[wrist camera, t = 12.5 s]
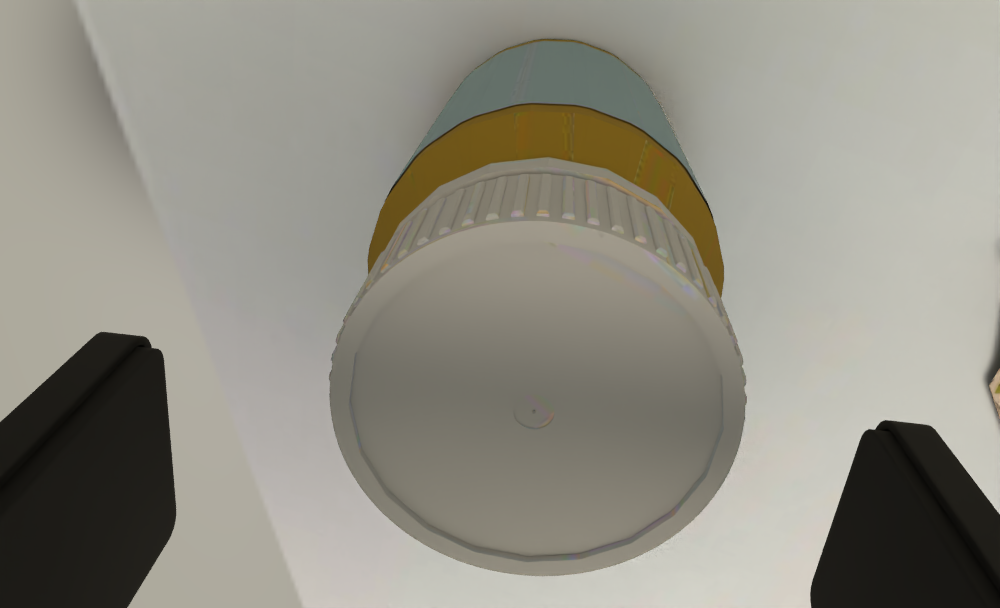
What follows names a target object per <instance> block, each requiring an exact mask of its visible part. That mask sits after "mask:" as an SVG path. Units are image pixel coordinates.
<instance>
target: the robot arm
mask: <svg viewBox="0 0 1000 608" xmlns="http://www.w3.org/2000/svg"><path fill="white" fill-rule="evenodd" d="M168 417H169V416H168V404H167V392H166V380H165V368H164V358H163V354H162V352H161V351H160V350H159V349H154V348H151V344H150V342H149V340H148V339H147V338H146V337H143V336H134V335H126V334H117V333H108V332H100V333H98V334H96V335H95V336H94V337H93V338H92V339H91V340H90V341H88V342H87V343H86V344H85V345H84V346H83V347H82V348H81V349H80V350H79V351H78V352H77V353H75V354H74V355H73V356H72V357H71V358H70V359H69V360H68V361H67V362H66V363H64V364H63V365H62V366H61V367H60V368H59V369H58V370H57V371H56V372H55V373H54V374H52V375H51V376H50V377H49V378H48V379H47V380H46V381H45V382H44V383H43V384H42V385H41V386H39V387H38V388H37V389H36V390H35V391H34V392H33V393H32V394H31V395H30V396H29V397H27V398H26V399H25V400H24V401H23V402H22V403H21V404H20V405H19V406H17V408H15V409H14V410H13V411H12V412H11V413H10V414H9V415H8V416H7V417H6V418H4V419H3V420H2V421H1V422H0V608H127V607H128V606H129V604H130V602H131V601H132V599H133V597H134V596H135V594H136V592H137V590H138V589H139V588H140V586H141V584H142V583H143V581H144V579H145V578H146V576H147V574H148V573H149V571H150V570H151V568H152V566H153V565H154V563H155V562H156V560H157V558H158V556H159V555H160V553H161V552H162V550H163V548H164V547H165V545H166V544H167V542H168V540H169V538H170V536H171V534H172V531H173V529H174V525H175V519H176V501H175V489H174V477H173V464H172V452H171V440H170V428H169V418H168ZM810 597H811V608H1000V514H999V513H998V512H997V510H996V509H995V508H994V507H993V505H992V504H991V503H990V501H989V500H988V499H987V497H986V496H985V495H984V493H983V492H982V491H981V489H980V488H979V487H978V486H977V484H976V483H975V482H974V480H973V479H972V478H971V476H970V475H969V474H968V472H967V471H966V470H965V468H964V467H963V466H962V464H961V463H960V462H959V461H958V459H957V458H956V457H955V455H954V454H953V453H952V451H951V450H950V449H949V447H948V446H947V445H946V443H945V442H944V441H943V439H942V438H941V437H940V436H939V434H938V433H937V432H936V430H935V429H934V428H932V427H931V426H929V425H923V424H914V423H906V422H897V421H888V420H885V421H882V422H881V423H880V424H879V425H878V426H877V427H876V429H875V430H871V429H869V430H866V431H865V432H864V434H863V435H862V437H861V440H860V442H859V445H858V448H857V451H856V454H855V457H854V460H853V463H852V466H851V469H850V472H849V475H848V478H847V481H846V484H845V487H844V490H843V493H842V495H841V498H840V501H839V504H838V507H837V510H836V513H835V516H834V519H833V522H832V525H831V528H830V531H829V534H828V537H827V540H826V543H825V546H824V549H823V552H822V555H821V557H820V560H819V563H818V566H817V569H816V572H815V575H814V578H813V581H812V585H811V593H810Z"/></svg>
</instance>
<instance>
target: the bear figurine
mask: <svg viewBox="0 0 1000 608" xmlns="http://www.w3.org/2000/svg"><path fill="white" fill-rule="evenodd" d="M989 387H990V390H991V393H992V396H993V400H994V403H995V406H996V409H997V412H998V415H999V418H1000V369H999V370H998V372H997V373H996V375H995V377H994V378H993V380H992V381H991V383H990V384H989Z"/></svg>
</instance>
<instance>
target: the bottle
mask: <svg viewBox="0 0 1000 608" xmlns="http://www.w3.org/2000/svg"><path fill="white" fill-rule="evenodd" d="M723 282H724V265H723V260H722V255H721V250H720V245H719V240H718V235H717V230H716V226H715V224H714V220H713V216H712V213H711V211H710V208H709V205H708V203H707V201H706V199H705V197H704V195H703V193H702V191H701V188H700V186H699V184H698V182H697V180H696V178H695V176H694V174H693V172H692V170H691V168H690V166H689V164H688V162H687V160H686V157H685V155H684V153H683V151H682V149H681V147H680V145H679V143H678V141H677V139H676V137H675V135H674V133H673V131H672V129H671V127H670V124H669V122H668V120H667V118H666V116H665V114H664V112H663V110H662V108H661V107H660V105H659V103H658V102H657V100H656V98H655V97H654V95H653V93H652V92H651V90H650V88H649V87H648V85H647V84H646V83H645V82H644V81H643V80H642V78H641V77H640V76H639V75H638V74H637V73H636V72H634V71H633V70H632V69H631V68H630V67H628V66H627V65H626V64H625V63H624V62H622V61H621V60H620V59H619V58H618V57H616V56H614V55H613V54H611V53H609V52H607V51H604V50H602V49H599V48H596V47H594V46H591V45H589V44H586V43H583V42H579V41H574V40H556V39H541V40H534V41H530V42H527V43H523V44H520V45H517V46H513V47H510V48H507V49H505V50H503V51H501V52H499V53H497V54H496V55H494V56H493V57H491V58H490V59H488V60H487V61H486V62H484V63H483V64H481V65H480V66H478V67H477V68H476V69H475V70H474V71H473V72H471V73H470V74H469V75H468V76H467V77H466V78H465V80H464V81H463V82H462V84H461V85H460V86H459V88H458V89H457V90H456V92H455V93H454V94H453V96H452V97H451V99H450V100H449V101H448V103H447V104H446V106H445V107H444V109H443V110H442V112H441V113H440V115H439V116H438V118H437V120H436V121H435V123H434V124H433V126H432V127H431V129H430V130H429V132H428V133H427V135H426V136H425V138H424V139H423V141H422V142H421V144H420V145H419V147H418V149H417V150H416V152H415V153H414V155H413V156H412V158H411V159H410V161H409V162H408V164H407V165H406V167H405V168H404V170H403V171H402V173H401V174H400V176H399V178H398V179H397V181H396V182H395V184H394V185H393V187H392V188H391V190H390V192H389V194H388V196H387V198H386V200H385V203H384V205H383V207H382V209H381V211H380V214H379V218H378V221H377V224H376V227H375V231H374V234H373V237H372V240H371V244H370V247H369V255H368V277H367V278H366V280H365V282H364V284H363V285H362V287H361V289H360V291H359V293H358V294H357V296H356V298H355V300H354V301H353V303H352V305H351V307H350V309H349V310H348V312H347V314H346V316H345V318H344V320H343V322H344V324H343V326H342V328H341V329H340V331H339V333H338V335H337V338H336V342H337V346H336V348H335V350H334V352H333V354H332V358H331V360H332V363H333V365H332V370H331V372H330V375H329V380H330V394H329V395H330V407H331V416H332V422H333V427H334V431H335V434H336V438H337V441H338V444H339V447H340V450H341V452H342V455H343V457H344V459H345V461H346V463H347V465H348V467H349V469H350V471H351V473H352V475H353V476H354V478H355V479H356V481H357V483H358V484H359V485H360V487H361V488H362V490H363V491H364V492H365V494H366V495H367V496H368V497H369V499H370V500H371V501H372V502H373V503H374V504H375V505H376V507H377V508H378V509H379V510H380V511H381V512H382V513H383V514H384V515H385V516H387V517H388V518H389V519H390V520H391V521H392V522H393V523H394V524H396V525H397V526H398V527H399V528H401V529H402V530H403V531H405V532H406V533H407V534H409V535H410V536H412V537H413V538H415V539H416V540H418V541H420V542H421V543H423V544H425V545H426V546H428V547H430V548H432V549H434V550H436V551H438V552H440V553H442V554H444V555H446V556H448V557H451V558H453V559H456V560H458V561H461V562H464V563H467V564H470V565H473V566H477V567H480V568H484V569H488V570H492V571H497V572H503V573H509V574H518V575H529V576H557V575H569V574H577V573H584V572H589V571H594V570H598V569H603V568H606V567H610V566H613V565H616V564H619V563H622V562H625V561H628V560H630V559H633V558H635V557H637V556H639V555H642V554H644V553H646V552H648V551H650V550H652V549H653V548H655V547H657V546H659V545H660V544H662V543H664V542H665V541H667V540H668V539H670V538H671V537H673V536H674V535H675V534H677V533H678V532H679V531H681V530H682V529H683V528H684V527H686V526H687V525H688V524H689V523H690V522H691V521H692V520H693V519H694V518H695V517H696V516H697V515H698V514H699V513H700V512H701V511H702V510H703V509H704V508H705V507H706V506H707V505H708V503H709V502H710V501H711V500H712V498H713V497H714V496H715V494H716V493H717V491H718V490H719V488H720V487H721V485H722V483H723V482H724V480H725V478H726V476H727V475H728V473H729V471H730V469H731V466H732V464H733V462H734V459H735V457H736V454H737V451H738V448H739V445H740V441H741V436H742V431H743V426H744V420H745V405H746V403H747V396H746V394H745V391H744V386H745V384H746V376H745V373H744V370H743V368H742V364H743V358H742V355H741V352H740V349H739V347H738V344H737V338H736V336H735V333H734V331H733V328H732V326H731V323H730V321H729V318H728V316H727V313H726V311H725V308H724V306H723V303H722V301H721V295H722V289H723Z"/></svg>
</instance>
